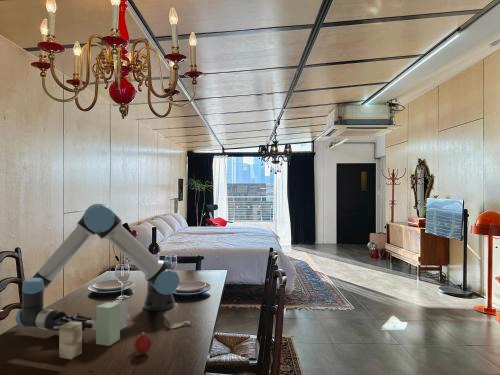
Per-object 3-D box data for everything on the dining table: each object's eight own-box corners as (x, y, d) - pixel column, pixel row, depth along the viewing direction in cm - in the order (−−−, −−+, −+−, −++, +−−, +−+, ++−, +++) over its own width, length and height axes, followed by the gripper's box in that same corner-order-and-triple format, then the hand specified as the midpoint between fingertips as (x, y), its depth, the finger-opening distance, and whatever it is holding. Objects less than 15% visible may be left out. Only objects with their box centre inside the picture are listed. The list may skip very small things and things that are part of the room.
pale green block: (96, 343, 132) (96, 306, 133) (106, 337, 138) (106, 301, 138) (109, 345, 131) (109, 307, 131) (119, 339, 136) (119, 303, 137)
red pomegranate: (136, 351, 129) (136, 329, 129) (152, 350, 130) (152, 328, 130) (132, 358, 123) (132, 335, 124) (149, 357, 124) (149, 334, 124)
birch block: (70, 354, 126) (70, 321, 127) (81, 356, 125) (81, 322, 125) (59, 361, 122) (59, 326, 122) (71, 363, 120) (71, 327, 120)
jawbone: (175, 333, 147) (174, 329, 147) (148, 322, 161) (147, 318, 161) (192, 326, 154) (191, 321, 154) (164, 315, 168) (164, 311, 168)
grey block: (116, 328, 152) (117, 299, 152) (126, 329, 150) (126, 300, 150) (109, 332, 147) (109, 303, 147) (119, 333, 145) (119, 304, 146)
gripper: (64, 323, 148) (112, 329, 142) (37, 335, 136) (88, 342, 129) (64, 305, 148) (112, 310, 142) (38, 315, 136) (88, 322, 129)
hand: (100, 325), depth 135 cm, fingers closed
